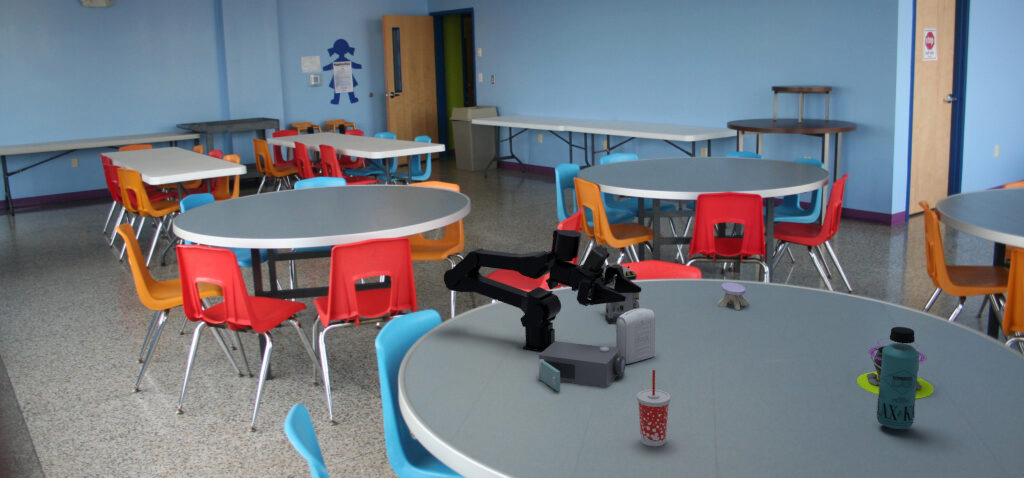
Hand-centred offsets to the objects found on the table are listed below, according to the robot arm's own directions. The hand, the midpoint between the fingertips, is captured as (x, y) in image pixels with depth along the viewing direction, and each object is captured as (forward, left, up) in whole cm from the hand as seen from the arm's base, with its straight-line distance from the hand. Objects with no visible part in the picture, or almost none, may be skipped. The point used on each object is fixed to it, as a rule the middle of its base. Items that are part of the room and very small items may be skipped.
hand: (633, 294), depth 186 cm
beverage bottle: (+56, -16, -17) cm, 60 cm away
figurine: (-13, +32, -17) cm, 39 cm away
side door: (-14, -20, -17) cm, 29 cm away
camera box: (-9, -11, -17) cm, 22 cm away
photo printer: (0, +3, -17) cm, 17 cm away
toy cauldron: (+56, +7, -17) cm, 59 cm away
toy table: (+14, +54, -17) cm, 58 cm away
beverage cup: (+15, -37, -17) cm, 43 cm away
